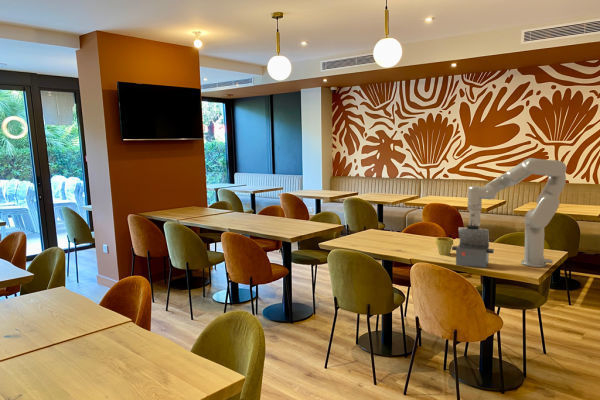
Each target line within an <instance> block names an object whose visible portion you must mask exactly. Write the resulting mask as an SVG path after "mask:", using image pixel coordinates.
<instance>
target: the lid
mask: <svg viewBox="0 0 600 400" xmlns="http://www.w3.org/2000/svg"><path fill="white" fill-rule="evenodd" d="M489 235H490V234H489V229H488V228H480V226H470V225H469V224H468V225H467V227H462V226H461V227H460V226H459V227H458V238H459V244H469V245H482V246H489V247H490V240H489V239H490V238H489Z"/></svg>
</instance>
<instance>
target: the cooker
mask: <svg viewBox="0 0 600 400" xmlns="http://www.w3.org/2000/svg"><path fill="white" fill-rule="evenodd" d="M451 250H452V251H456V253H455V257H456V258H455V266H461V267H473V268H482V269H483V268H484V269H487V267H488V265H489V261H490V260H489V254H494V248H490V245H489V246H482V245H469V244H460V243H459V244H458V246H457V245H452V248H451Z"/></svg>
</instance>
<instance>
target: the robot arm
mask: <svg viewBox="0 0 600 400" xmlns="http://www.w3.org/2000/svg"><path fill="white" fill-rule="evenodd" d="M567 169H568V168H567V165H566V163H564V162H563V161H561V160H556V159H553V160H551V159H541V158H534V157H529V158H526V159H524V160H523V161H522V162H519V163H518V164H517V165H515V166H514V167H512V168H511V169H509V170H507V171H506V172H504V173H502V174H501V175H500V176H498V177H496V178H494V179H493V180H491V181H489V182H488V183H486V184H485V185H484V186H478V185H470V186H468V188H467V210H468V211H469V214H468V215H469V217H468V220H469V221H468V225H470V226H479V227H480V226H481V211H482V206H483V204H482V201H483V200H493V199H495V198H496V197H497V195H498V193H499V192H501V191H502V190H504V189H506V188H508V187H513V186H515V185H517V184H519V183H520V182H522V181H524V180H525V179H527V178H528V177H530V176H531V175H538V176H545V177H548V179H547V181H546V183H545V185H544V187H543V188H542V189H541V191H540V193H539V195H538V196H537V198H536V206H535V207H534V208H531V209H528V211H526V212H525V216H524V229H525V230H524V254H523V255H524V256H523V257H524V258H523V260H521V261H520V264H521V265H523V266H527V267H533V268H544V267H547V264H553V263H554V261H553V259H550V258H545V255H544V250H545V249H544V248H545V227H546V226H548V224H549V223H550V222H551V220H552V219H553V217H554V216H555V214H556V212H557V211H558V209H559V207H560V199H559V196H560V195H561V193H562V191H563V189H564V188H565V185H566V182H567V177H566V175H567V174H566V171H567Z"/></svg>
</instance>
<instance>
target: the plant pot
mask: <svg viewBox="0 0 600 400" xmlns="http://www.w3.org/2000/svg"><path fill="white" fill-rule="evenodd" d="M435 244H436V245H437V250H438V254H439V255H440V256H449V255H451V250H452V247H453V246H454V239H453V238H451V237H444V236H443V237H442V236H441V237H436V239H435Z"/></svg>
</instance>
